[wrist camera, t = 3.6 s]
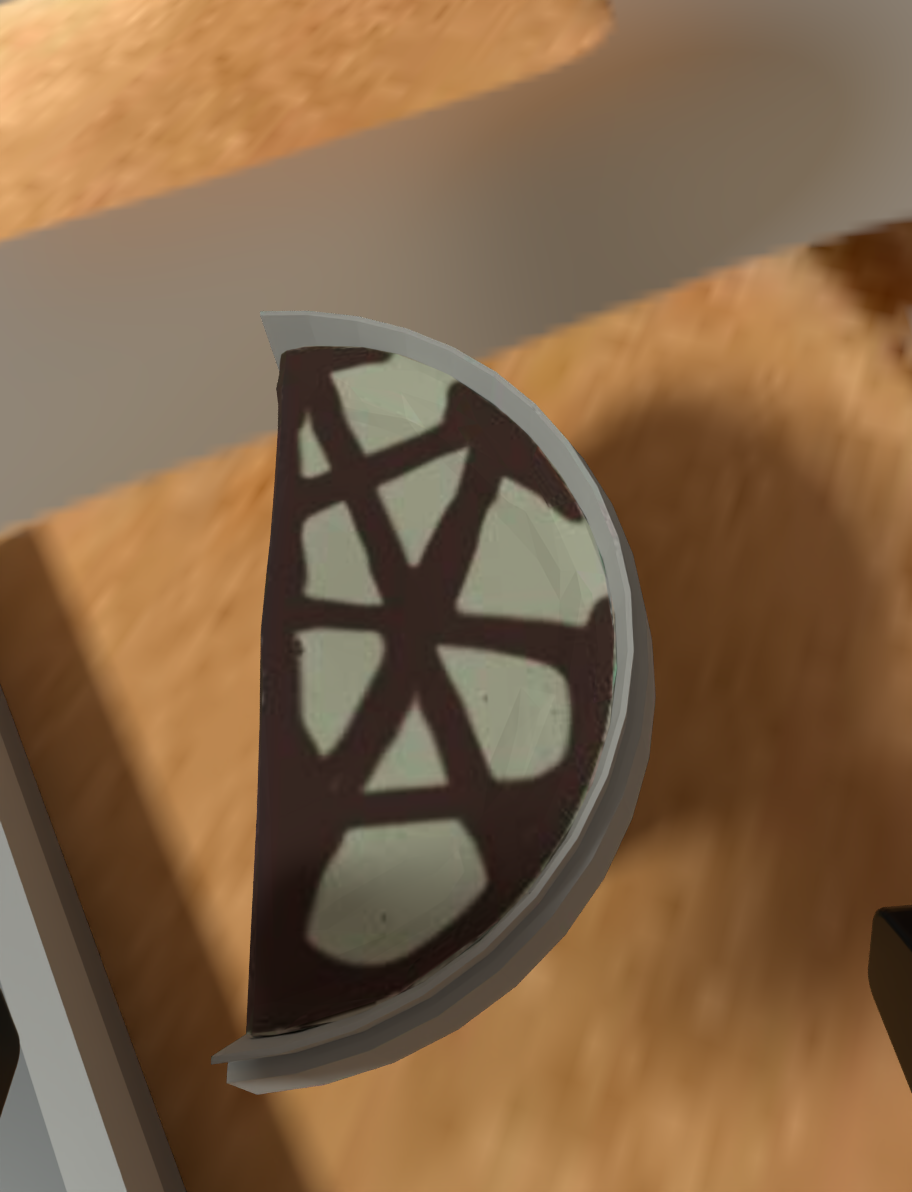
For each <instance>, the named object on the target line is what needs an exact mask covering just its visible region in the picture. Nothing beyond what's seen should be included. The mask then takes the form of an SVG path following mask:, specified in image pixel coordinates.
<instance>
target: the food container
mask: <svg viewBox="0 0 912 1192" xmlns="http://www.w3.org/2000/svg"><path fill="white" fill-rule="evenodd" d="M260 316H261V319H262V322H263V325H264V328H265V331H266V334H267V337H268V339H269V342H270V345H271V348H272V351H273V354H274V357H275V360H276V363H277V366H278V369H279V379H278V383H277V388H276V390H277V397H278V438H277V454H276V469H275V485H274V498H273V511H272V524H271V536H270V546H269V555H268V564H267V574H266V584H265V594H264V604H263V615H262V625H261V660H260V731H259V763H258V795H257V822H256V841H255V861H254V881H253V901H252V920H251V941H250V962H249V984H248V1005H247V1026H246V1034H245V1035H244V1036H242V1037H241V1038H239V1039H238V1040H236V1041H235V1042H233V1043H232V1044H230V1045H228V1046H227V1047H225V1048H224V1049H222V1050H221V1051H219V1052H218V1053H216V1054H215V1055H213V1056H211V1064H218V1063H226V1062H228V1069H227V1083H228V1084H231V1085H233V1086H236V1087H238V1088H241V1089H244V1090H246V1091H249V1092H251V1093H254V1094H257V1095H258V1094H265V1093H271V1092H278V1091H285V1090H292V1089H299V1088H306V1087H313V1086H320V1085H325V1084H329V1083H332V1082H335V1081H338V1080H341V1079H344V1078H347V1077H351V1076H354V1075H357V1074H360V1073H363V1072H366V1071H370V1070H373V1069H376V1068H379V1067H382V1066H385V1065H388V1064H392V1063H394V1062H396V1061H398V1060H400V1059H402V1058H404V1057H406V1056H408V1055H410V1054H412V1053H414V1052H416V1051H418V1050H419V1049H421V1048H423V1047H425V1046H427V1045H429V1044H431V1043H433V1042H435V1041H437V1040H439V1039H441V1038H443V1037H445V1036H447V1035H448V1034H450V1033H452V1032H454V1031H456V1030H458V1029H460V1028H461V1027H462V1026H464V1025H465V1024H466V1023H468V1022H469V1021H470V1020H472V1019H473V1018H474V1017H476V1016H477V1015H478V1014H480V1013H481V1012H482V1011H484V1010H485V1009H486V1008H488V1007H489V1006H490V1005H492V1004H493V1003H494V1002H496V1001H497V1000H498V999H500V998H501V997H502V996H504V995H505V994H506V993H508V992H509V991H510V990H512V989H513V988H514V987H516V986H517V985H518V984H519V983H520V982H521V981H522V980H523V979H524V978H525V976H526V975H527V974H528V973H529V972H530V971H531V970H532V969H533V968H534V967H535V966H536V965H537V964H538V963H539V962H540V961H541V960H542V959H543V958H544V957H545V956H546V955H547V954H548V952H549V951H550V950H551V949H552V948H553V947H554V946H555V945H556V944H557V943H558V942H559V941H560V940H561V939H562V938H563V937H564V936H565V935H566V933H567V932H568V930H569V929H570V927H571V926H572V924H573V923H574V922H575V920H576V919H577V917H578V916H579V914H580V913H581V911H582V910H583V908H584V907H585V906H586V904H587V903H588V901H589V900H590V898H591V897H592V895H593V894H594V892H595V891H596V890H597V888H598V887H599V885H600V884H601V882H602V881H603V879H604V878H605V875H606V873H607V871H608V869H609V867H610V865H611V863H612V860H613V858H614V856H615V854H616V852H617V850H618V848H619V846H620V843H621V841H622V839H623V837H624V835H625V833H626V831H627V829H628V826H629V824H630V822H631V820H632V817H633V814H634V810H635V807H636V803H637V800H638V796H639V792H640V789H641V785H642V782H643V778H644V775H645V771H646V767H647V764H648V760H649V755H650V746H651V736H652V727H653V718H654V708H655V699H656V695H655V679H654V663H653V646H652V637H651V633H650V628H649V623H648V619H647V614H646V610H645V605H644V601H643V596H642V592H641V587H640V583H639V579H638V574H637V570H636V565H635V561H634V557H633V553H632V551H631V548H630V546H629V544H628V541H627V539H626V536H625V534H624V532H623V529H622V527H621V524H620V522H619V519H618V517H617V515H616V512H615V510H614V507H613V505H612V503H611V501H610V500H609V498H608V497H607V495H606V494H605V492H604V490H603V489H602V487H601V486H600V484H599V482H598V481H597V479H596V478H595V476H594V474H593V473H592V471H591V470H590V468H589V466H588V465H587V463H586V462H585V460H584V459H583V457H582V456H581V455H580V454H579V453H578V452H577V451H576V450H575V448H574V447H573V446H572V445H571V444H570V442H569V441H568V440H567V439H566V438H565V437H564V436H563V434H562V433H561V432H560V431H559V430H558V429H557V428H556V427H555V425H554V424H553V423H552V422H551V421H550V420H549V419H548V418H547V416H546V415H545V414H544V413H543V412H542V411H541V410H540V409H539V408H538V406H537V405H536V404H535V403H534V402H532V401H531V400H530V399H529V398H527V397H526V396H525V395H524V394H522V393H521V392H520V391H519V390H517V389H516V388H515V387H514V386H513V385H511V384H510V383H509V382H508V381H506V380H505V379H504V378H503V377H501V376H500V375H499V374H498V373H497V372H495V371H493V370H492V369H490V368H488V367H486V366H485V365H483V364H481V363H480V362H478V361H476V360H474V359H473V358H471V357H469V356H468V355H466V354H464V353H462V352H461V351H459V350H457V349H456V348H454V347H451V346H449V345H447V344H444V343H442V342H439V341H437V340H434V339H432V338H429V337H427V336H424V335H422V334H419V333H417V332H414V331H412V330H409V329H407V328H403V327H399V326H395V325H391V324H387V323H383V322H378V321H375V320H371V319H367V318H362V317H358V316H350V315H341V314H332V313H322V312H313V311H266V312H260Z"/></svg>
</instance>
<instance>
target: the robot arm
mask: <svg viewBox="0 0 912 1192" xmlns="http://www.w3.org/2000/svg"><path fill="white" fill-rule="evenodd" d="M868 979H869V984H870V988H871V992H872V995H873V998H874V1000H875V1003H876V1005H877V1008H878V1010H879V1013H880V1015H881V1018H882V1020H883V1023H884V1025H885V1028H886V1030H887V1033H888V1035H889V1038H890V1040H891V1043H892V1045H893V1048H894V1050H895V1053H896V1055H897V1058H898V1060H899V1063H900V1065H901V1068H902V1070H903V1073H904V1075H905V1078H906V1080H907V1083H908V1085H909V1088H910V1090H911V1093H912V905H905V906H892V907H883V908H880V909H878V910H877V911H876V913H875V915H874V918H873V924H872V934H871V943H870V953H869V963H868ZM19 1055H20V1039H19V1034H18V1032H17V1029H16V1026H15V1024H14V1021H13V1019H12V1016H11V1013H10V1011H9V1008H8V1006H7V1003H6V1001H5V998H4V995H3V993H2V990H1V988H0V1117H1V1114H2V1111H3V1108H4V1105H5V1102H6V1099H7V1096H8V1092H9V1089H10V1086H11V1083H12V1080H13V1077H14V1074H15V1071H16V1068H17V1064H18V1061H19Z"/></svg>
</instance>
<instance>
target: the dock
mask: <svg viewBox="0 0 912 1192" xmlns="http://www.w3.org/2000/svg"><path fill="white" fill-rule="evenodd" d="M0 988H1V990H2V993H3V995H4V998H5V1001H6V1003H7V1006H8V1008H9V1011H10V1013H11V1016H12V1019H13V1021H14V1024H15V1026H16V1029H17V1032H18V1034H19V1039H20V1055H19V1061H18V1064H17V1068H16V1071H15V1074H14V1077H13V1080H12V1083H11V1086H10V1089H9V1092H8V1096H7V1099H6V1102H5V1105H4V1108H3V1111H2V1114H1V1117H0V1192H186V1190H185V1187H184V1184H183V1182H182V1179H181V1176H180V1173H179V1171H178V1168H177V1165H176V1163H175V1160H174V1157H173V1154H172V1152H171V1149H170V1146H169V1143H168V1141H167V1138H166V1135H165V1132H164V1130H163V1127H162V1124H161V1122H160V1119H159V1116H158V1113H157V1111H156V1108H155V1105H154V1102H153V1100H152V1097H151V1094H150V1092H149V1089H148V1086H147V1083H146V1081H145V1078H144V1075H143V1072H142V1070H141V1067H140V1064H139V1062H138V1059H137V1056H136V1053H135V1051H134V1048H133V1045H132V1042H131V1040H130V1037H129V1034H128V1032H127V1029H126V1026H125V1023H124V1021H123V1018H122V1015H121V1012H120V1010H119V1007H118V1004H117V1002H116V999H115V996H114V993H113V991H112V988H111V985H110V982H109V980H108V977H107V974H106V972H105V969H104V966H103V963H102V961H101V958H100V955H99V952H98V950H97V947H96V944H95V941H94V939H93V936H92V933H91V931H90V928H89V925H88V922H87V920H86V917H85V914H84V911H83V909H82V906H81V903H80V901H79V898H78V895H77V892H76V890H75V887H74V884H73V881H72V879H71V876H70V873H69V871H68V868H67V865H66V862H65V860H64V857H63V854H62V851H61V849H60V846H59V843H58V841H57V838H56V835H55V832H54V830H53V827H52V824H51V821H50V819H49V816H48V813H47V811H46V808H45V805H44V802H43V800H42V797H41V794H40V791H39V789H38V786H37V783H36V781H35V778H34V775H33V772H32V770H31V767H30V764H29V761H28V759H27V756H26V753H25V750H24V748H23V745H22V742H21V740H20V737H19V734H18V731H17V729H16V726H15V723H14V720H13V718H12V715H11V712H10V710H9V707H8V704H7V701H6V699H5V696H4V693H3V690H2V688H1V685H0Z"/></svg>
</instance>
